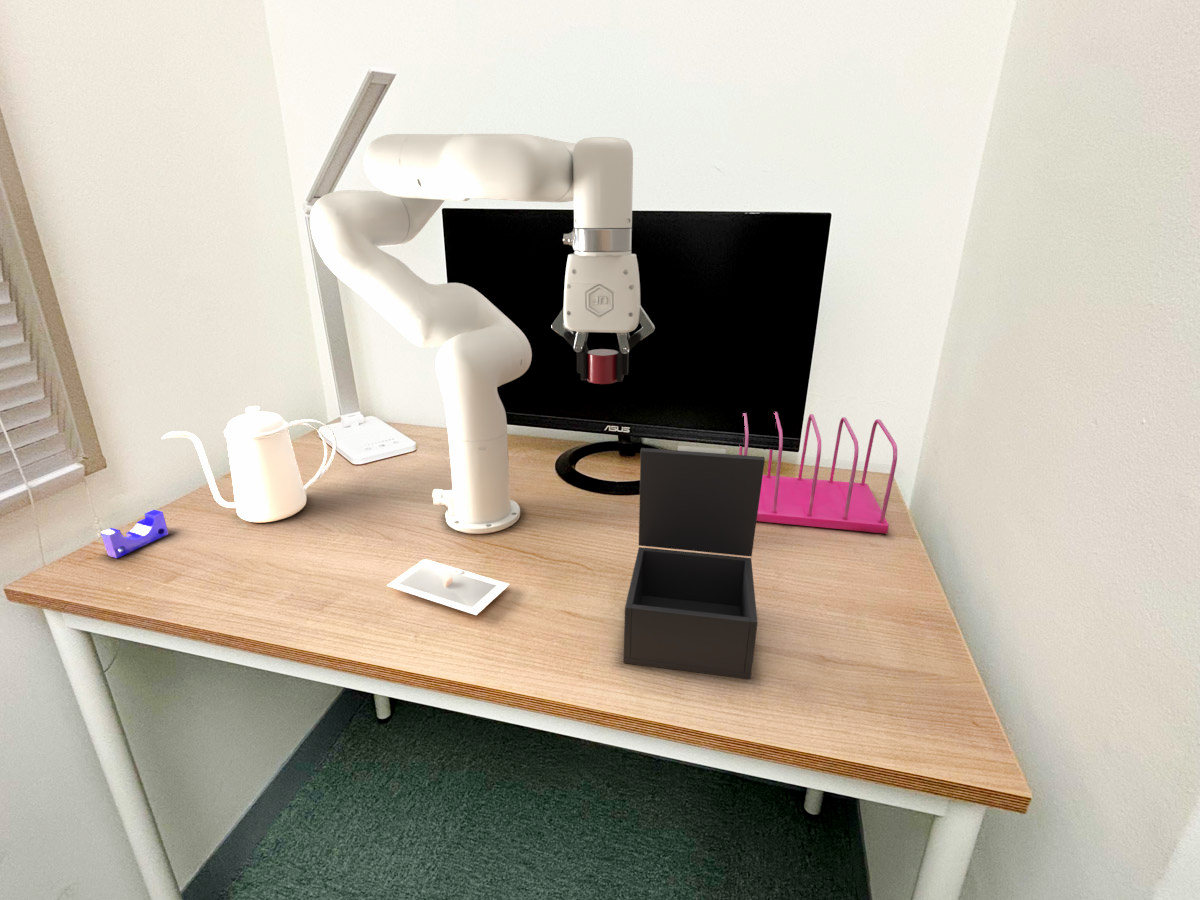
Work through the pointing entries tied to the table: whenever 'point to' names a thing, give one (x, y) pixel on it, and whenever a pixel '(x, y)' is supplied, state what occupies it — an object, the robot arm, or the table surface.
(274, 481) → the coffeepot
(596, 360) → the red cylinder
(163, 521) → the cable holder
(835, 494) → the file sorter
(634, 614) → the dark grey box
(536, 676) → the table surface
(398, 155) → the robot arm
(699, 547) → the lid
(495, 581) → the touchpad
